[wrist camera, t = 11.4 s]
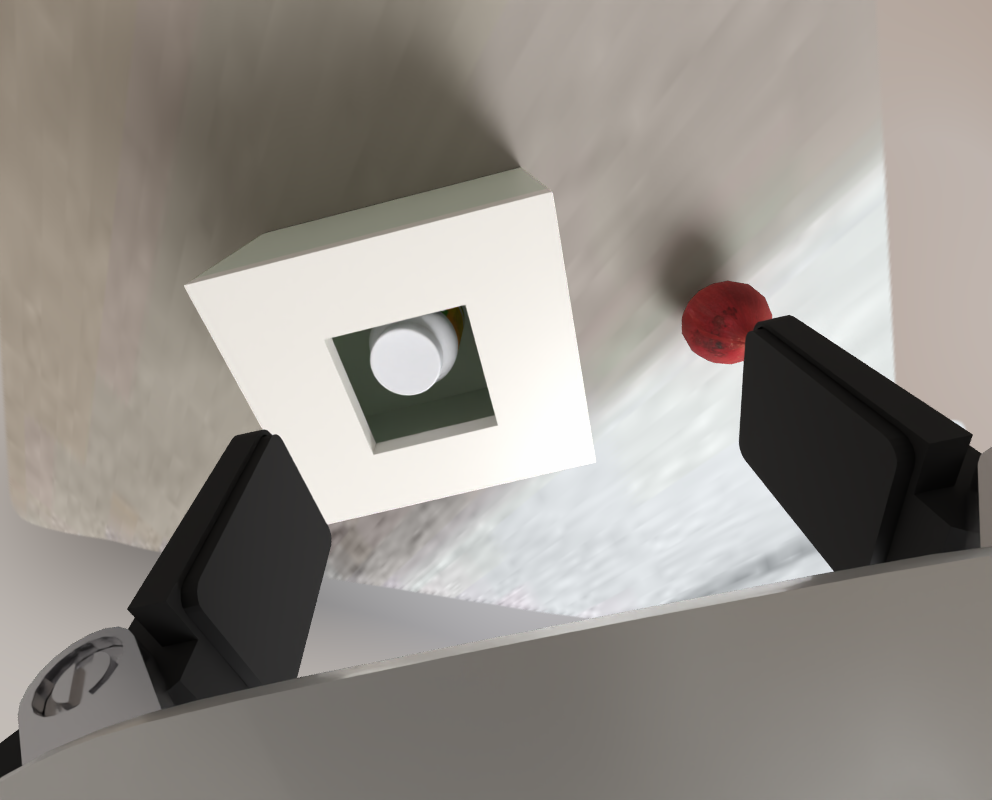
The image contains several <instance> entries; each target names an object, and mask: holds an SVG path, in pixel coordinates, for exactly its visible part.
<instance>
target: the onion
mask: <svg viewBox="0 0 992 800" xmlns="http://www.w3.org/2000/svg"><path fill="white" fill-rule="evenodd" d="M768 319H772V314H771V311H770V309H769V306H768V304H767V301H766V299H765V297H764V296H762V295H761V294H760V293H759V292H758V291H756V290H755V289H754V288H753V287H751V286H750V285H749V284H744V283H738V282H732V281H724V282H719V283H714V284H711V285H709V286H707V287H706V288H704V289H702V290H700V291H698V293H697V294H696V295H695V296H694V297H693V298H692V299H691V300H690V301H689V302H688V304H687V306H686V309H685V311H684V313H683V316H682V334H683V336H684V338H685V339H686V341H687V343H688V345H689V346H690V348H691V350H692V351H693V352H694V353H696V354H697V355H699V356H701V357H702V358H704V359H706V360H708V361H711V362H714V363H722V364H734V363H737V362H741V361H744V351H745V338H746V335H747V333H748V332H749V331H753V329H754V326H755V324H756V323H757V322H759V321H764V320H768Z"/></svg>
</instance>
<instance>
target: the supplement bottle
mask: <svg viewBox="0 0 992 800" xmlns="http://www.w3.org/2000/svg"><path fill="white" fill-rule="evenodd" d="M464 322H465V315H464V310H463V306H458V307H454V308H450V309H446V310H442V311H438V312H434V313H430V314H426V315H422V316H418V317H414V318H410V319H406V320H402V321H398V322H393V323H389V324H385V325H381V326H377V327H373V328H372V329H371V332H370V337H369V348H370V353H371V354H370V365H371V369H372V371H373V374H374V376H375V378H376V379H377V380H378V382H379V383H380V384H381V385H382V386H384V387H385V388H386V389H388V390H390V391H392V392H394V393H397V394H400V395H416V394H420V393H422V392H424V391H426V390H428V389H429V388H430V387H431V386H432V385H433V384H434V383H436V382H438V381H439V380H441V379H442V378H443V377H445V376H446V375H447V373H448V372H449V371H450V370H451V368H452V367H453V365H454V362H455V360H456V357H457V354H458V349H459V345H460V341H461V337H462V333H463V329H464Z"/></svg>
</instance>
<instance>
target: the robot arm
mask: <svg viewBox="0 0 992 800" xmlns="http://www.w3.org/2000/svg"><path fill="white" fill-rule="evenodd" d="M972 436H973V435H972V434H971V433H970V432H968V431H967V430H965V429H964V428H962V427H961V426H959V425H957V424H956V423H954V422H953V421H951V420H950V419H948V418H947V417H945V416H944V415H942V414H941V413H939V412H938V411H936V410H934V409H933V408H932V407H930V406H929V405H927V404H926V403H924V402H922V401H921V400H920V399H918V398H916V397H915V396H913V395H912V394H910V393H909V392H907V391H906V390H904V389H903V388H901V387H900V386H898V385H897V384H895V383H894V382H892V381H891V380H889V379H888V378H886V377H885V376H883V375H882V374H880V373H879V372H877V371H875V370H874V369H872V368H871V367H869V366H868V365H866V364H865V363H863V362H862V361H860V360H859V359H857V358H856V357H854V356H853V355H851V354H850V353H848V352H847V351H845V350H844V349H842V348H841V347H839V346H838V345H836V344H835V343H833V342H831V341H830V340H828V339H827V338H825V337H824V336H822V335H821V334H819V333H818V332H816V331H815V330H813V329H812V328H810V327H809V326H807V325H806V324H804V323H803V322H801V321H800V320H798V319H797V318H795V317H793V316H791V315H787V316H782V317H778V318H773V319H768V320H764V321H759V322H757V323H756V324H755V326H754V329H753V331H749V332H748V333H747V335H746V338H745V351H744V367H743V384H742V400H741V417H740V433H739V446H740V451H741V454H742V456H743V458H744V459H745V461H746V462H747V463H748V464H749V466H750V467H751V468H752V469H753V471H754V472H755V473H756V474H757V476H758V477H759V478H760V479H761V481H762V482H763V483H764V484H765V486H766V487H767V488H768V489H769V491H770V492H771V493H772V494H773V496H774V497H775V498H776V499H777V501H778V502H779V503H780V504H781V506H782V507H783V508H784V509H785V511H786V512H787V513H788V514H789V516H790V517H791V518H792V519H793V521H794V522H795V523H796V524H797V526H798V527H799V528H800V529H801V531H802V532H803V533H804V534H805V536H806V537H807V538H808V539H809V541H810V542H811V543H812V544H813V546H814V547H815V548H816V549H817V551H818V552H819V553H820V554H821V556H822V557H823V558H824V559H825V561H826V562H827V563H828V564H829V566H830V567H831V568H832V569H833V571H834V572H829V573H824V574H818V575H813V576H808V577H803V578H798V579H792V580H787V581H782V582H777V583H772V584H767V585H761V586H756V587H751V588H746V589H741V590H735V591H730V592H725V593H720V594H715V595H709V596H704V597H699V598H694V599H689V600H684V601H678V602H673V603H668V604H663V605H658V606H652V607H647V608H642V609H637V610H632V611H627V612H622V613H617V614H612V615H607V616H602V617H597V618H592V619H587V620H582V621H577V622H571V623H567V624H561V625H556V626H551V627H547V628H541V629H536V630H531V631H526V632H521V633H516V634H512V635H506V636H501V637H496V638H491V639H486V640H481V641H476V642H472V643H467V644H461V645H457V646H451V647H447V648H442V649H437V650H432V651H427V652H422V653H417V654H412V655H407V656H402V657H397V658H393V659H388V660H383V661H378V662H373V663H368V664H364V665H358V666H354V667H348V668H343V669H339V670H334V671H329V672H324V673H319V674H314V675H309V676H305V677H300V678H297V676H298V672H299V668H300V664H301V659H302V656H303V652H304V648H305V644H306V640H307V637H308V633H309V629H310V625H311V621H312V617H313V613H314V609H315V606H316V602H317V597H318V594H319V590H320V586H321V582H322V578H323V575H324V571H325V567H326V563H327V559H328V555H329V551H330V547H331V533H330V529H329V527H328V525H327V523H326V521H325V519H324V518H323V516H322V514H321V512H320V510H319V508H318V506H317V504H316V502H315V500H314V499H313V497H312V495H311V493H310V491H309V489H308V487H307V485H306V483H305V482H304V480H303V478H302V476H301V474H300V472H299V470H298V468H297V466H296V465H295V463H294V461H293V459H292V457H291V455H290V453H289V451H288V449H287V447H286V446H285V444H284V442H283V440H282V439H281V437H280V436H279V435H277V434H274V435H272V434H271V433H270V432H269V431H268V430H265V429H264V430H259V431H254V432H250V433H245V434H241V435H237V436H235V437H234V438H233V439H232V440H231V442H230V443H229V445H228V447H227V448H226V450H225V452H224V453H223V455H222V456H221V458H220V460H219V461H218V463H217V464H216V466H215V468H214V469H213V471H212V473H211V474H210V476H209V477H208V479H207V481H206V482H205V484H204V486H203V487H202V489H201V490H200V492H199V494H198V495H197V497H196V498H195V500H194V502H193V503H192V505H191V507H190V508H189V510H188V511H187V513H186V515H185V516H184V518H183V519H182V521H181V523H180V524H179V526H178V528H177V529H176V531H175V532H174V534H173V536H172V537H171V539H170V541H169V542H168V544H167V545H166V547H165V549H164V550H163V552H162V553H161V555H160V557H159V558H158V560H157V562H156V563H155V565H154V566H153V568H152V570H151V571H150V573H149V575H148V576H147V578H146V579H145V581H144V583H143V584H142V586H141V587H140V589H139V591H138V592H137V594H136V596H135V597H134V599H133V600H132V602H131V604H130V605H129V607H128V609H127V610H128V611H129V612H130V613H131V614H132V615H133V616H134V617H135V618H134V620H133V622H132V623H131V625H130V627H129V628H128V629H126V628H121V627H112V628H105V629H102V630H99V631H97V632H94V633H91V634H89V635H87V636H85V637H84V638H82V639H80V640H78V641H77V642H75V643H73V644H71V645H70V646H69V647H68V648H66V649H65V650H64V651H62V652H61V653H60V654H58V655H57V656H56V657H55V658H53V660H51V661H50V662H49V663H48V664H47V665H46V666H45V667H44V668H43V669H42V670H41V671H40V672H39V674H38V675H37V676H36V677H35V679H34V680H33V682H32V683H31V684H30V685H29V687H28V688H27V690H26V692H25V694H24V696H23V698H22V700H21V702H20V706H19V712H18V723H19V729H18V730H17V731H16V732H14V733H13V734H12V735H10V736H9V737H8V738H6V739H5V740H4V741H2V742H1V743H0V800H992V447H991V448H989V449H988V450H987V451H985V452H984V453H983V454H981V453H980V452H978V451H977V450H975V449H974V448H973V447H971V446H970V445H969V444H970V441H971V438H972Z"/></svg>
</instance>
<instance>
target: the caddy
mask: <svg viewBox="0 0 992 800" xmlns="http://www.w3.org/2000/svg"><path fill="white" fill-rule="evenodd" d="M184 287H185V289H186V291H187V293H188V294H189V296H190V298H191V300H192V302H193V303H194V305H195V307H196V309H197V311H198V313H199V314H200V316H201V318H202V320H203V322H204V324H205V325H206V327H207V329H208V331H209V333H210V334H211V336H212V338H213V340H214V342H215V344H216V345H217V347H218V349H219V351H220V353H221V354H222V356H223V358H224V360H225V362H226V364H227V365H228V367H229V369H230V371H231V373H232V375H233V376H234V378H235V380H236V382H237V384H238V385H239V387H240V389H241V391H242V393H243V395H244V396H245V398H246V400H247V402H248V404H249V405H250V407H251V409H252V411H253V413H254V415H255V416H256V418H257V420H258V422H259V424H260V425H261V427H262V429H263V430H264V429H265V430H268V431H269V432H270V433H271V434H272V435H274V434H277V435H279V436H280V437H281V439H282V440H283V442H284V444H285V446H286V447H287V449H288V451H289V453H290V455H291V457H292V459H293V461H294V463H295V465H296V466H297V468H298V470H299V472H300V474H301V476H302V478H303V480H304V482H305V483H306V485H307V487H308V489H309V491H310V493H311V495H312V497H313V499H314V500H315V502H316V504H317V506H318V508H319V510H320V512H321V514H322V516H323V518H324V519H325V521H326V523H327V524H332V523H336V522H340V521H345V520H349V519H353V518H358V517H362V516H366V515H370V514H375V513H379V512H383V511H388V510H392V509H396V508H401V507H405V506H409V505H414V504H418V503H422V502H427V501H431V500H435V499H440V498H444V497H448V496H452V495H457V494H461V493H465V492H470V491H474V490H478V489H483V488H487V487H491V486H496V485H500V484H504V483H509V482H513V481H517V480H522V479H526V478H530V477H534V476H539V475H543V474H547V473H552V472H556V471H560V470H565V469H569V468H573V467H578V466H582V465H586V464H591V463H595V462H596V459H595V453H594V446H593V440H592V434H591V428H590V422H589V415H588V409H587V403H586V397H585V390H584V384H583V378H582V372H581V366H580V359H579V353H578V347H577V341H576V334H575V328H574V322H573V316H572V310H571V303H570V297H569V291H568V285H567V278H566V272H565V266H564V260H563V254H562V247H561V241H560V235H559V229H558V222H557V216H556V210H555V204H554V198H553V192H552V191H551V190H550V189H549V188H547V187H546V186H545V185H543V184H542V183H541V182H539V181H538V180H537V179H535V178H534V177H533V176H532V175H530V174H529V173H528V172H526V171H525V170H524V169H522V168H521V167H520V168H516V169H512V170H508V171H505V172H501V173H497V174H493V175H489V176H485V177H481V178H477V179H473V180H470V181H466V182H462V183H458V184H454V185H450V186H446V187H442V188H439V189H435V190H431V191H427V192H423V193H419V194H415V195H411V196H407V197H404V198H400V199H396V200H392V201H388V202H384V203H380V204H376V205H373V206H369V207H365V208H361V209H357V210H353V211H349V212H345V213H341V214H338V215H334V216H330V217H326V218H322V219H318V220H314V221H310V222H307V223H303V224H299V225H295V226H291V227H287V228H283V229H279V230H275V231H272V232H268V233H264V234H262V235H260V236H259V237H257V238H256V239H254V240H253V241H251V242H250V243H248V244H247V245H245V246H244V247H242V248H240V249H239V250H237V251H236V252H234V253H233V254H231V255H230V256H228V257H227V258H225V259H224V260H222V261H221V262H219V263H218V264H216V265H214V266H213V267H211V268H210V269H208V270H207V271H205V272H204V273H202V274H201V275H199V276H198V277H196V278H195V279H193V280H192V281H190V282H188V283H187V284H185V285H184ZM458 306H463V310H464V315H465V322H464V329H463V333H462V337H461V341H460V345H459V349H458V354H457V357H456V360H455V362H454V365H453V367H452V368H451V370H450V371H449V372H448V373H447V375H446V376H445V377H443V378H442V379H441V380H439V381H438V382H436V383H434V384H433V385H432V386H431V387H430V388H429V389H428V390H426V391H424V392H422V393H420V394H416V395H400V394H397V393H394V392H392V391H390V390H388V389H386V388H385V387H384V386H382V385H381V384H380V383H379V382H378V380H377V379H376V378H375V376H374V374H373V371H372V369H371V365H370V354H371V353H370V348H369V337H370V332H371V329H372V328H373V327H377V326H381V325H385V324H389V323H393V322H398V321H402V320H406V319H410V318H414V317H418V316H422V315H426V314H430V313H434V312H438V311H442V310H446V309H450V308H454V307H458Z"/></svg>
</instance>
